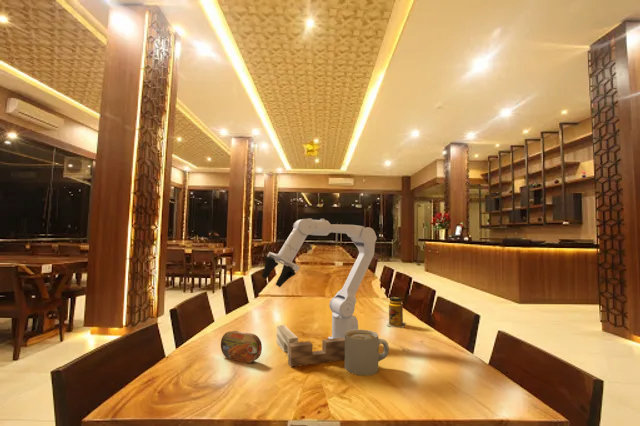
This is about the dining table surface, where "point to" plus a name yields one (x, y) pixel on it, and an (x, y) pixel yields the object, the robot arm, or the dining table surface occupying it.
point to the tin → (241, 346)
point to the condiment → (396, 312)
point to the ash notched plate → (285, 337)
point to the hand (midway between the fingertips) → (270, 281)
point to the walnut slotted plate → (316, 352)
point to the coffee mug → (363, 352)
